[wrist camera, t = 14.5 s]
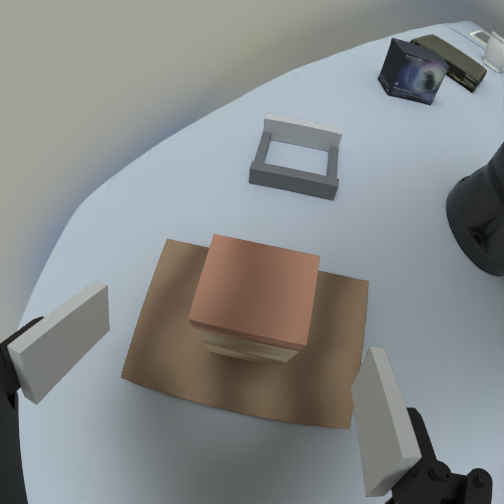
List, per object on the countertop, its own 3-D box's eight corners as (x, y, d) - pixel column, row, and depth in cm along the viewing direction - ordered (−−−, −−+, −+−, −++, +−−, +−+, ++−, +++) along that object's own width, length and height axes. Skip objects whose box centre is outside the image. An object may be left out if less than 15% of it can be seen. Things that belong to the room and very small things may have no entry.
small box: (387, 96, 47) (404, 51, 38) (376, 79, 50) (390, 36, 41) (432, 106, 47) (451, 66, 38) (419, 88, 50) (435, 50, 41)
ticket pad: (290, 312, 26) (319, 256, 17) (280, 367, 24) (306, 345, 14) (224, 297, 27) (214, 233, 17) (209, 351, 25) (187, 318, 15)
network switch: (403, 54, 60) (408, 39, 55) (420, 41, 69) (424, 29, 64) (479, 100, 54) (486, 86, 49) (482, 78, 62) (487, 67, 58)
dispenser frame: (336, 147, 39) (342, 128, 36) (333, 200, 35) (340, 181, 32) (264, 132, 40) (266, 113, 37) (249, 182, 35) (249, 162, 32)
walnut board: (361, 288, 30) (368, 281, 28) (342, 427, 23) (349, 429, 22) (171, 248, 31) (167, 238, 29) (128, 379, 25) (120, 377, 23)
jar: (491, 71, 68) (505, 41, 55) (475, 56, 73) (487, 27, 59) (505, 77, 69) (519, 50, 56) (490, 62, 74) (502, 36, 60)
